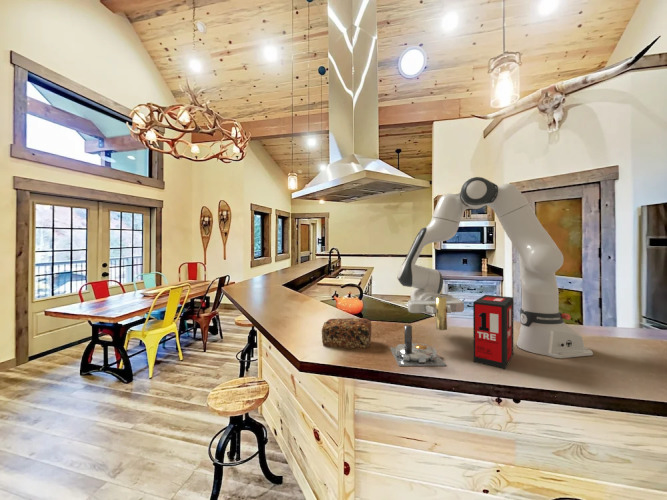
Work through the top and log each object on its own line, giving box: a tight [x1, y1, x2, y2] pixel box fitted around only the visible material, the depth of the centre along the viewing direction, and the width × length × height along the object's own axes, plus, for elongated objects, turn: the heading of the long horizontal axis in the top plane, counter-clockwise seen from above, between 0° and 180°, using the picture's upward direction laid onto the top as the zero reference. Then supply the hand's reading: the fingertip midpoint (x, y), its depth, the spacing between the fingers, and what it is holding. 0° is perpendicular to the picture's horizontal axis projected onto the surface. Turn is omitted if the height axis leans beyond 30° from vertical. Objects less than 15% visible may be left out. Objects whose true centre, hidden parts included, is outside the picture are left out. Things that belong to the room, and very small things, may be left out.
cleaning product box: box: [472, 294, 514, 370], centre depth 96 cm, size 16×9×20 cm, turn 139°
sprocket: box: [396, 324, 437, 362], centre depth 98 cm, size 14×14×11 cm
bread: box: [321, 317, 372, 350], centre depth 112 cm, size 19×11×10 cm, turn 76°
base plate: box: [389, 346, 447, 367], centre depth 98 cm, size 15×15×1 cm
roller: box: [435, 297, 448, 331], centre depth 100 cm, size 4×4×11 cm
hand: (442, 310), depth 99 cm, fingers closed on roller, 4 cm apart
